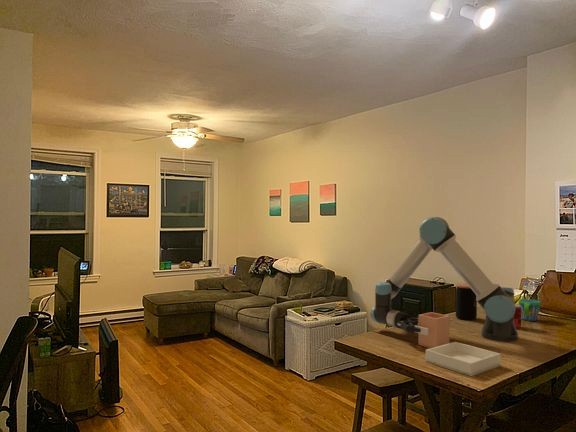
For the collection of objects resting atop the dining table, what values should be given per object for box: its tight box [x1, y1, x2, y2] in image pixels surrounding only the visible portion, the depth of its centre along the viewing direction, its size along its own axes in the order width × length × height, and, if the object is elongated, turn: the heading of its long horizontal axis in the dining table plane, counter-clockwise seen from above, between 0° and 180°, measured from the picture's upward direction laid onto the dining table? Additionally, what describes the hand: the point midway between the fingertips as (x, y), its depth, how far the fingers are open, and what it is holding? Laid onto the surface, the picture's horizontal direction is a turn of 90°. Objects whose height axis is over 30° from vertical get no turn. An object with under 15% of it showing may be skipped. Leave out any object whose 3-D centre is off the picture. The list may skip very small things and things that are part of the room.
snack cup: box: [518, 298, 542, 322], centre depth 238 cm, size 16×10×10 cm
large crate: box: [425, 341, 501, 377], centre depth 168 cm, size 19×19×4 cm
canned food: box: [514, 303, 522, 330], centre depth 223 cm, size 8×8×11 cm
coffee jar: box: [455, 283, 478, 321], centre depth 241 cm, size 11×11×18 cm
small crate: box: [417, 311, 450, 349], centre depth 191 cm, size 9×9×13 cm
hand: (438, 329), depth 189 cm, fingers open, 13 cm apart
